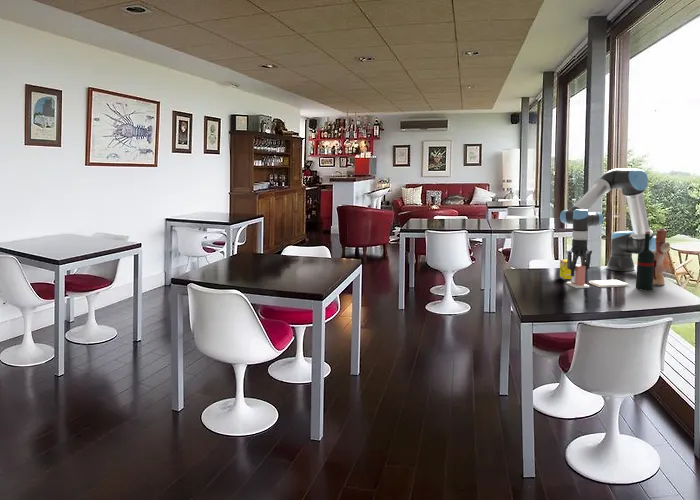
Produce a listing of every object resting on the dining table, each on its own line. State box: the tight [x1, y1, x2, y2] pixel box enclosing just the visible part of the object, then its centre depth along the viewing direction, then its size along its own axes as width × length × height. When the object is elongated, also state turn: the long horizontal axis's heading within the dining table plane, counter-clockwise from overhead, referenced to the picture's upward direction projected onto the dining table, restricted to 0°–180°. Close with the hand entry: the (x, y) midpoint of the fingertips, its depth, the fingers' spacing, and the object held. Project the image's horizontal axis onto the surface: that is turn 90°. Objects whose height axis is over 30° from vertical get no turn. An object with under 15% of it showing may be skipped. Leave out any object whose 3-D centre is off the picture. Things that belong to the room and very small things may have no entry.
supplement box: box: [559, 259, 571, 282], centre depth 324 cm, size 6×6×11 cm
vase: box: [652, 228, 671, 287], centre depth 306 cm, size 10×7×30 cm
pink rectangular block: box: [565, 263, 590, 289], centre depth 307 cm, size 7×11×11 cm, turn 7°
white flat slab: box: [588, 279, 630, 288], centre depth 310 cm, size 16×11×1 cm
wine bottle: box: [635, 231, 657, 292], centre depth 297 cm, size 8×10×30 cm
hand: (577, 282), depth 308 cm, fingers closed on pink rectangular block, 4 cm apart
